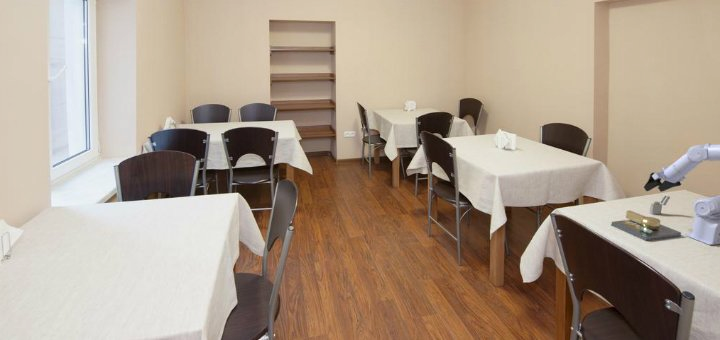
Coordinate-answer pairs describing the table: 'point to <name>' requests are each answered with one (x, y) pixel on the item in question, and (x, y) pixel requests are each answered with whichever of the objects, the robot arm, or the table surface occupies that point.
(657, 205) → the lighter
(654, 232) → the base plate
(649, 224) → the gold elongated piece
